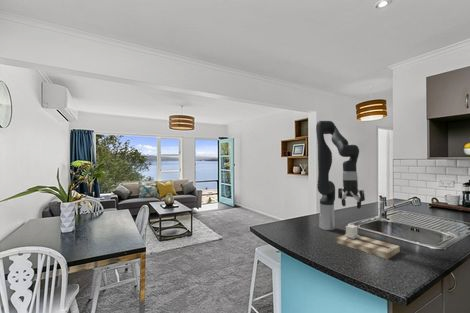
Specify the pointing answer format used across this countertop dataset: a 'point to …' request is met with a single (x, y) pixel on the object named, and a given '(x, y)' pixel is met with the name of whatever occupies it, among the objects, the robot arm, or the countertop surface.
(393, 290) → the countertop surface
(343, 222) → the countertop surface
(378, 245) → the wooden grid board
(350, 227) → the white cube
